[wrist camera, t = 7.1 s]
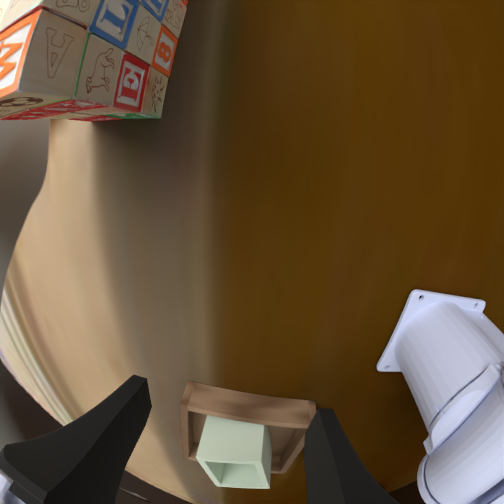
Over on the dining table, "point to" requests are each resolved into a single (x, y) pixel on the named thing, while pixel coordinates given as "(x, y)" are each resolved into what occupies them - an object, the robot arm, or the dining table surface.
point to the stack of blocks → (86, 58)
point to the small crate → (236, 453)
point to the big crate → (246, 419)
